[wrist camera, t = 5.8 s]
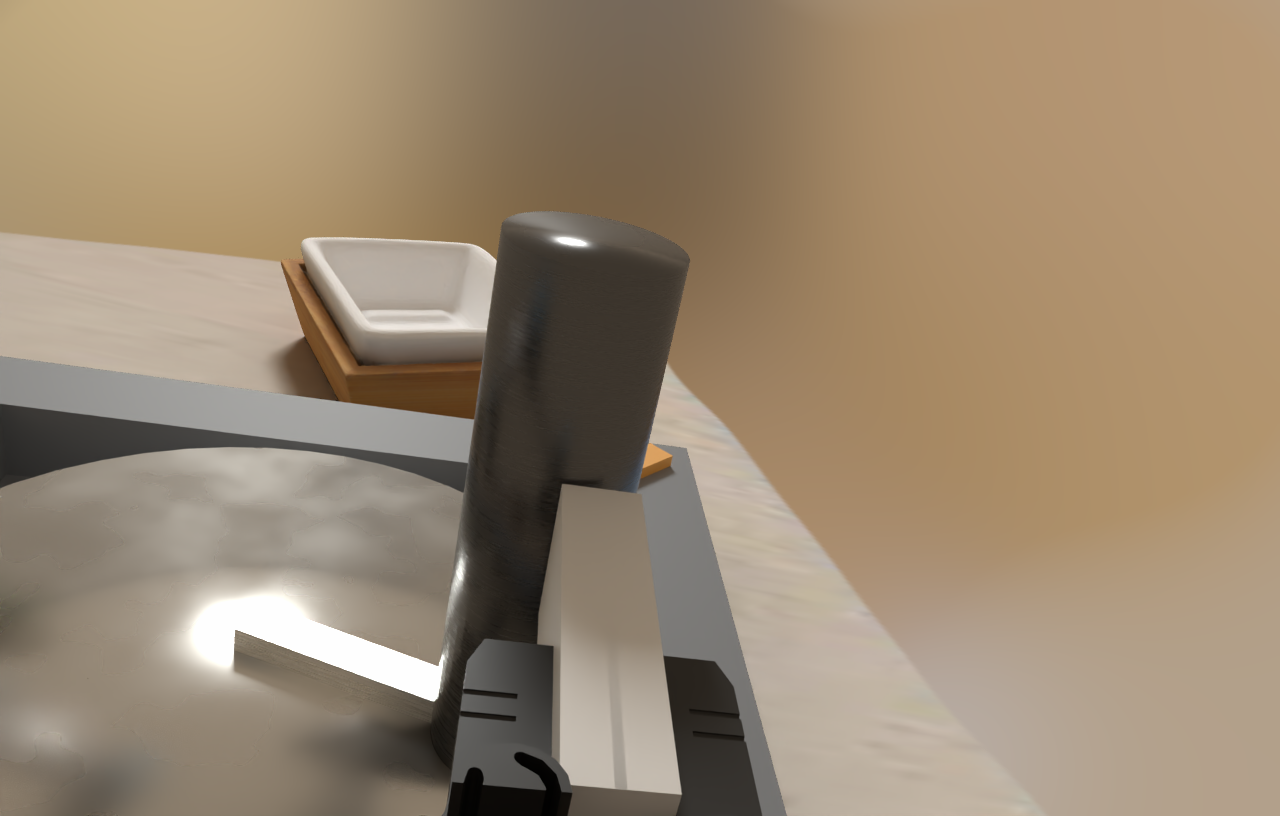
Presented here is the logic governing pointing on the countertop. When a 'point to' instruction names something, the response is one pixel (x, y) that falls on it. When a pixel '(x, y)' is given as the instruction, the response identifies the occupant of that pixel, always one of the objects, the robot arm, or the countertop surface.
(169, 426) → the tray
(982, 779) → the countertop surface
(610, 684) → the robot arm
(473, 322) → the soap dish
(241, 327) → the countertop surface
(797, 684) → the countertop surface
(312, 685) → the dial
